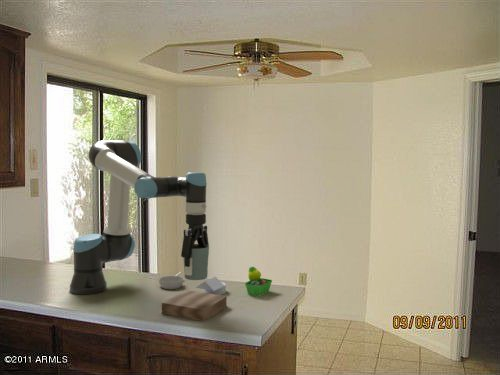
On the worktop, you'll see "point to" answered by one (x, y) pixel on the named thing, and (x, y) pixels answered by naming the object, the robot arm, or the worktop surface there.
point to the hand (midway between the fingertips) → (195, 271)
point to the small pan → (171, 281)
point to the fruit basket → (257, 283)
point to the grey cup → (198, 263)
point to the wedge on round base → (213, 286)
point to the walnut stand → (194, 305)
